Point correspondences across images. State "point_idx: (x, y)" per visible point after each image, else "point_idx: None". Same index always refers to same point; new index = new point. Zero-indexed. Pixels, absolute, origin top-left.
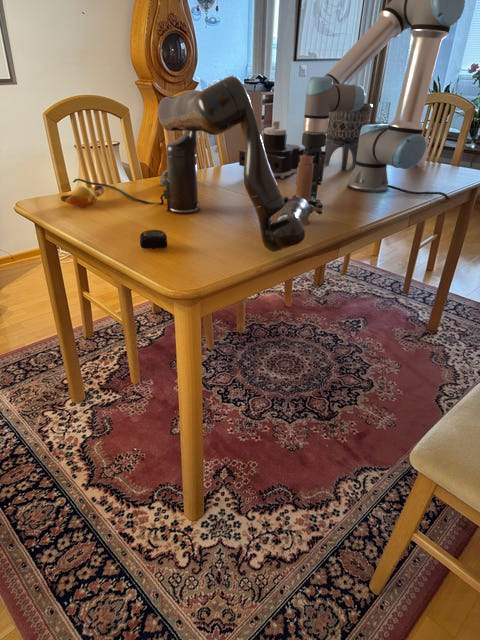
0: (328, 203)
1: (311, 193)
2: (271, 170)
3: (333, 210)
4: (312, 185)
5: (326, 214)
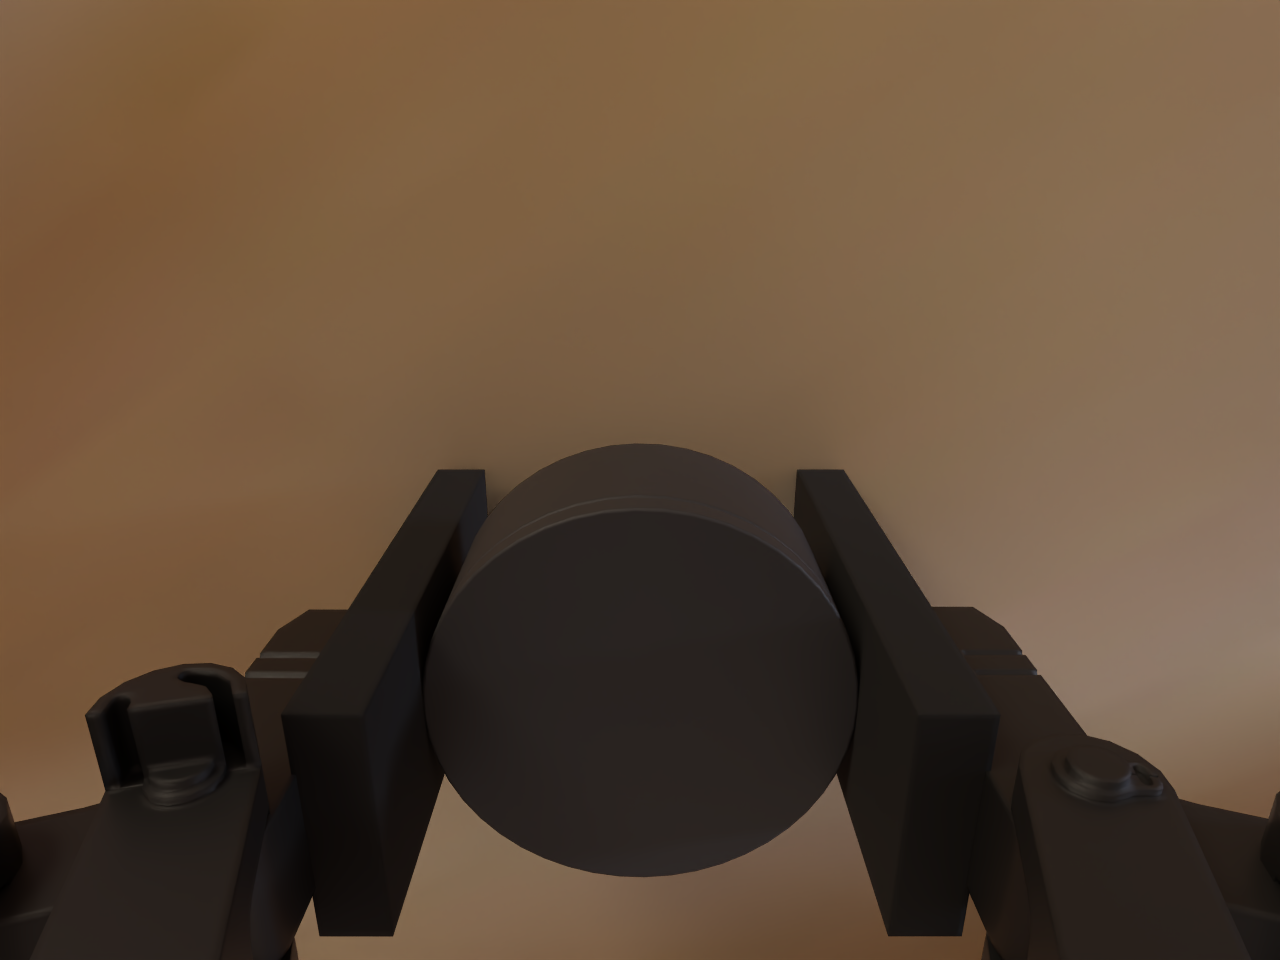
0: (1097, 720)
1: (574, 827)
2: None
3: (742, 940)
4: (900, 806)
5: (475, 957)
